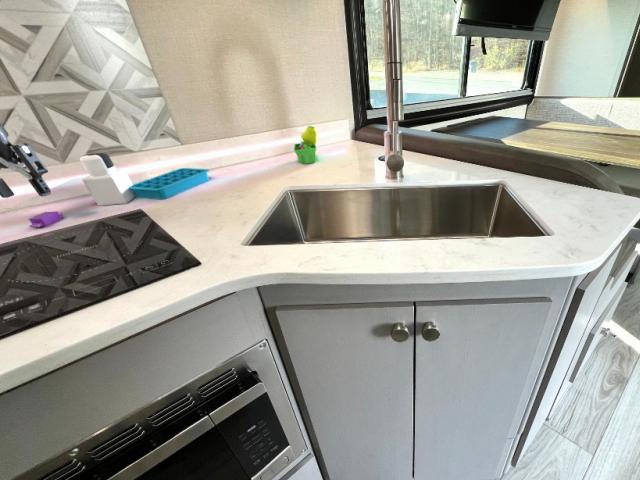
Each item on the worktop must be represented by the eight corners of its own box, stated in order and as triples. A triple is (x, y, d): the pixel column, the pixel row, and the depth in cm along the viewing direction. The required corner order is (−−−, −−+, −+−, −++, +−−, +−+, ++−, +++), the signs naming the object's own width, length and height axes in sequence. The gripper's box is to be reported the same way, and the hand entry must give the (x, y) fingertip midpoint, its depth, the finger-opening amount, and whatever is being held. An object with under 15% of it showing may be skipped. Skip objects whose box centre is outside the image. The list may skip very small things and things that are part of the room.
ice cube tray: (214, 179, 102) (211, 169, 100) (162, 201, 86) (157, 190, 85) (185, 177, 104) (181, 167, 102) (130, 198, 89) (124, 187, 87)
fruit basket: (297, 158, 121) (289, 125, 114) (320, 156, 122) (314, 123, 115) (297, 165, 112) (289, 130, 105) (322, 163, 114) (316, 128, 107)
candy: (31, 231, 73) (23, 221, 71) (56, 219, 78) (49, 209, 76) (44, 231, 73) (36, 220, 71) (68, 219, 78) (61, 209, 76)
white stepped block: (112, 197, 90) (85, 152, 83) (139, 195, 91) (115, 150, 84) (97, 206, 85) (68, 158, 77) (126, 203, 86) (99, 156, 78)
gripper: (-96, 117, 58) (-21, 203, 68) (-21, 113, 58) (44, 200, 68) (-50, 112, 64) (13, 191, 74) (18, 108, 64) (72, 189, 73)
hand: (27, 196), depth 71 cm, fingers open, 8 cm apart
